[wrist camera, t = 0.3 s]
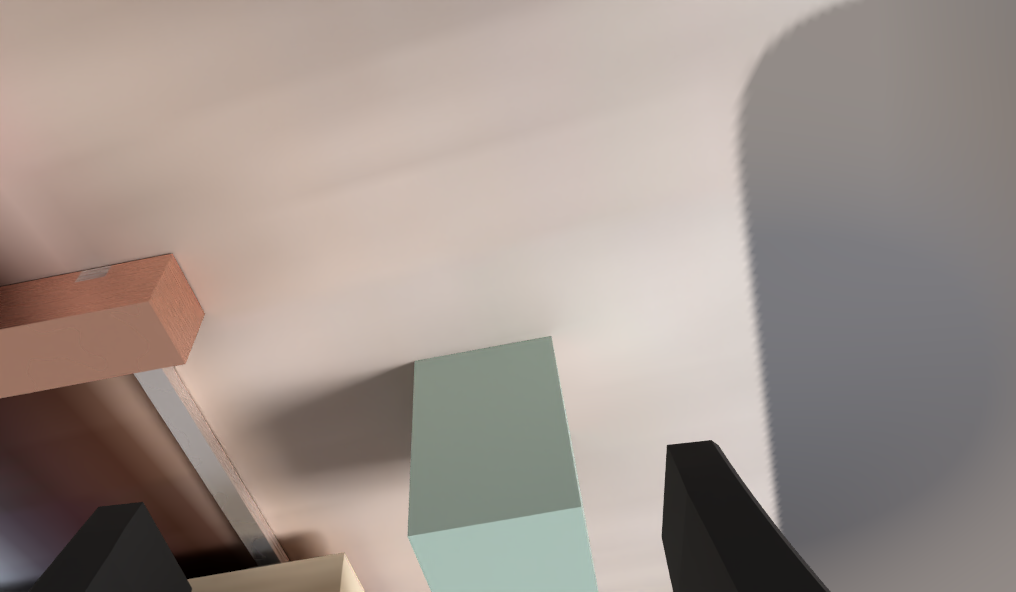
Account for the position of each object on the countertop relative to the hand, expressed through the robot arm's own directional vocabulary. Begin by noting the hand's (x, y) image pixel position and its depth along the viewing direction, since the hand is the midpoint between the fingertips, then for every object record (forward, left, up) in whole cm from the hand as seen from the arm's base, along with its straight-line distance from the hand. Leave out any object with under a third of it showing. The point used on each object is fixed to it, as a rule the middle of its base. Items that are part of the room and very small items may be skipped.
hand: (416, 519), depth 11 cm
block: (-8, 0, -10) cm, 13 cm away
